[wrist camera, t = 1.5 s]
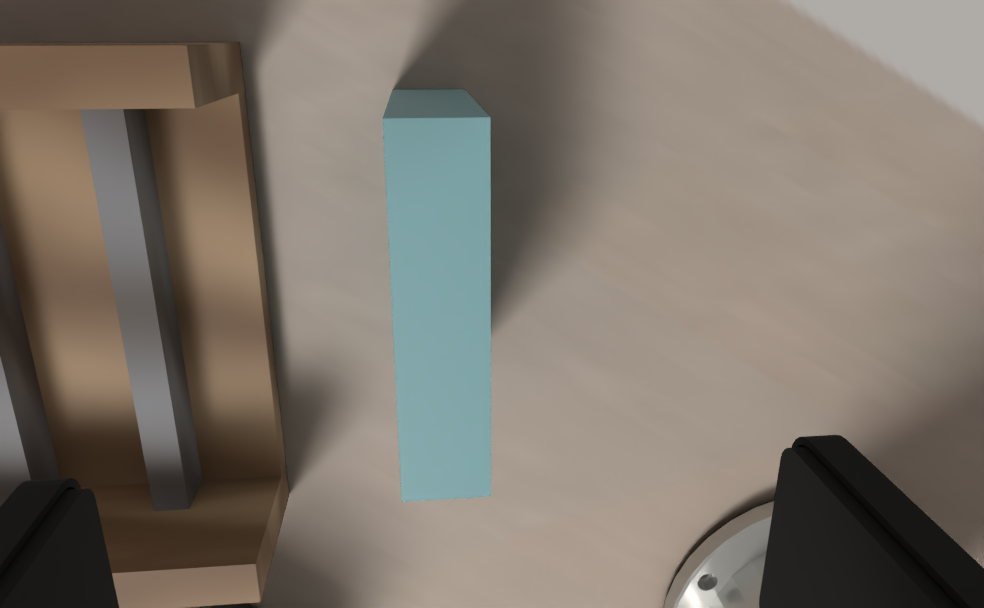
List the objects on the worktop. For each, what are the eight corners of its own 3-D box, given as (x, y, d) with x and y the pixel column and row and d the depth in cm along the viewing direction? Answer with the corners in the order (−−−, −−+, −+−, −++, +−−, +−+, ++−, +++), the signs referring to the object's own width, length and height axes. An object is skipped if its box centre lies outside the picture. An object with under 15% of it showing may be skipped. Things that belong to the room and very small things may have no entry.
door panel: (467, 360, 29) (490, 496, 20) (404, 362, 28) (401, 501, 20) (464, 89, 25) (490, 117, 17) (392, 89, 25) (382, 118, 17)
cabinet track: (289, 494, 30) (260, 602, 24) (-31, 512, 29) (-139, 630, 23) (239, 42, 24) (186, 45, 18) (-164, 43, 23) (-352, 46, 17)
